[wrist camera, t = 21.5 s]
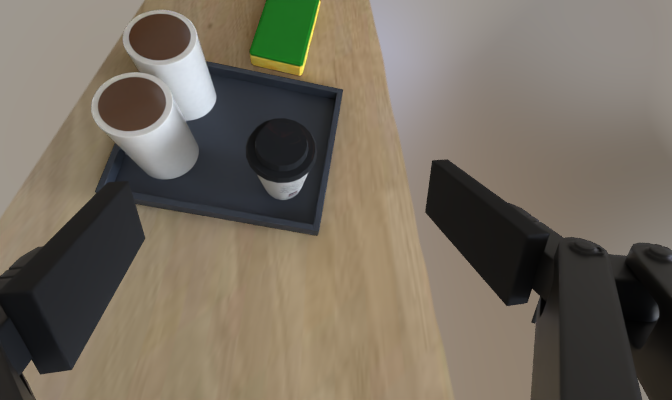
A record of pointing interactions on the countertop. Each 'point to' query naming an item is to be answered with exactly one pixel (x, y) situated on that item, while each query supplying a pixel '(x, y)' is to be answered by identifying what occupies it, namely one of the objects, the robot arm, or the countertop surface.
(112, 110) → the cream cup
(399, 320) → the countertop surface
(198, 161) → the cup tray
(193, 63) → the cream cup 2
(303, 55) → the dish sponge
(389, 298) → the countertop surface
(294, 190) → the coffee cup
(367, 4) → the countertop surface
